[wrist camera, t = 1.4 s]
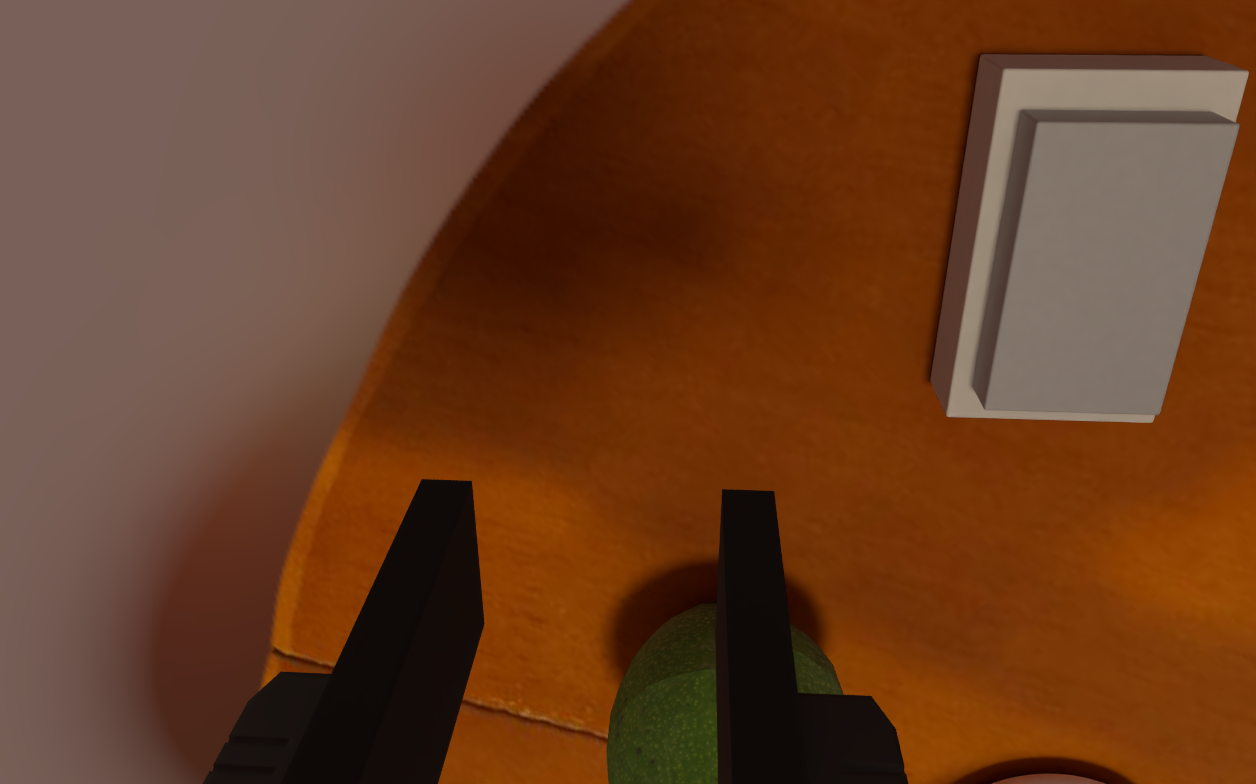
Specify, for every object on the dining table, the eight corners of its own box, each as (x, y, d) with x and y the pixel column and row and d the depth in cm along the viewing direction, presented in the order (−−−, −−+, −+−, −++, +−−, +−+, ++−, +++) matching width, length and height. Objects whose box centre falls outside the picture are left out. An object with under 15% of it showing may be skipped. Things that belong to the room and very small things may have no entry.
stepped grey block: (979, 53, 27) (1019, 78, 24) (1207, 55, 27) (1280, 80, 23) (929, 381, 32) (956, 441, 28) (1123, 386, 31) (1173, 448, 28)
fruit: (814, 730, 39) (856, 1051, 28) (612, 708, 39) (578, 1019, 28) (851, 565, 35) (916, 864, 24) (628, 542, 35) (596, 829, 25)
